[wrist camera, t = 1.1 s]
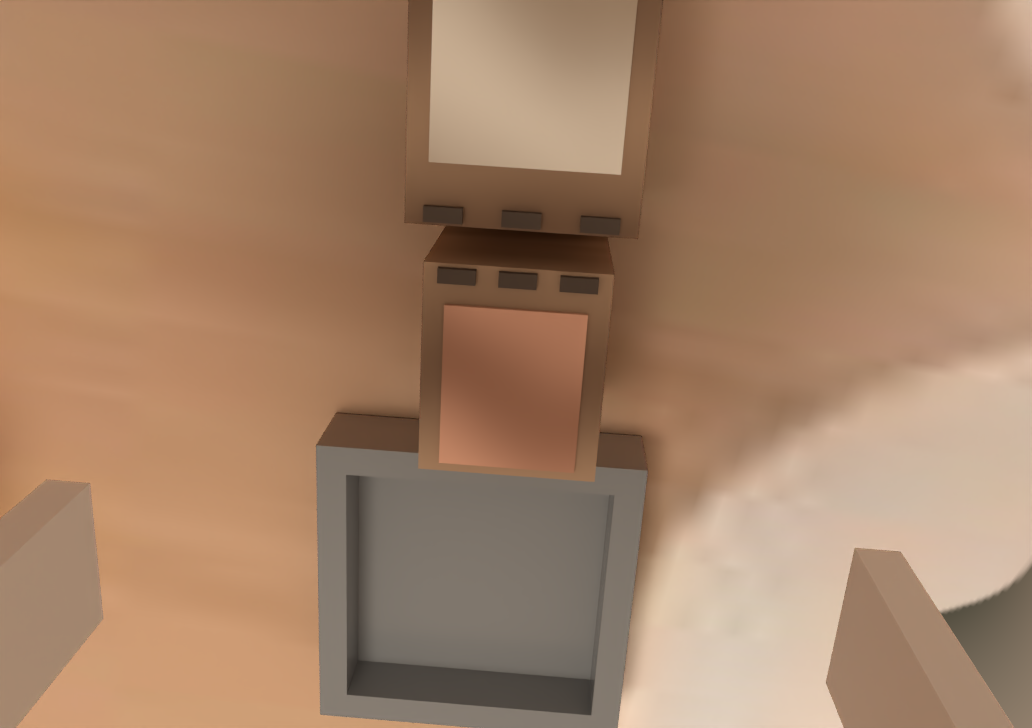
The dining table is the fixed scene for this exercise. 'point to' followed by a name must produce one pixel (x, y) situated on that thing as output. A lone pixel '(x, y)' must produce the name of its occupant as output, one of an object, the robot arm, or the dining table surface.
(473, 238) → the brown block
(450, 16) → the brown wooden box
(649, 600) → the dining table surface
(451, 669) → the slate tray
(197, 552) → the dining table surface
